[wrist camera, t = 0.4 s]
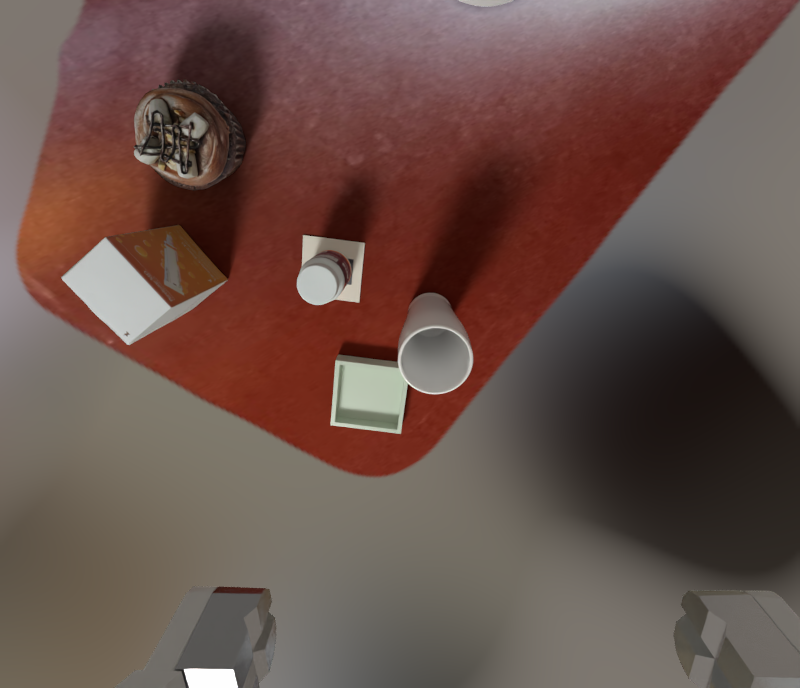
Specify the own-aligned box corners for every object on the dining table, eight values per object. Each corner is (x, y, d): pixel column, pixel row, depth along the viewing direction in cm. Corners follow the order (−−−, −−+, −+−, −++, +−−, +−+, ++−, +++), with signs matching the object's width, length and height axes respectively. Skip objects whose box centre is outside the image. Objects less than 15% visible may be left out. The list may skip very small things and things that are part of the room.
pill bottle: (349, 292, 52) (338, 312, 44) (309, 286, 52) (291, 305, 44) (354, 252, 50) (343, 265, 42) (313, 245, 50) (294, 257, 42)
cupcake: (257, 100, 45) (216, 78, 36) (250, 197, 49) (211, 201, 39) (164, 80, 45) (98, 53, 36) (163, 179, 48) (103, 178, 39)
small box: (229, 279, 52) (173, 309, 40) (192, 310, 54) (127, 348, 41) (179, 222, 50) (103, 235, 38) (142, 256, 51) (57, 279, 39)
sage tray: (338, 354, 55) (335, 360, 53) (410, 363, 55) (409, 369, 53) (333, 417, 58) (330, 425, 56) (401, 426, 58) (400, 433, 56)
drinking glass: (390, 305, 53) (381, 350, 38) (438, 274, 51) (448, 309, 37) (421, 349, 54) (423, 408, 40) (469, 320, 53) (488, 371, 39)
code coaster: (303, 234, 50) (303, 235, 50) (364, 242, 50) (364, 243, 50) (300, 294, 52) (300, 295, 52) (359, 302, 53) (359, 302, 52)
